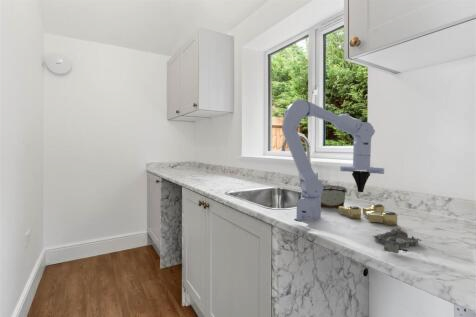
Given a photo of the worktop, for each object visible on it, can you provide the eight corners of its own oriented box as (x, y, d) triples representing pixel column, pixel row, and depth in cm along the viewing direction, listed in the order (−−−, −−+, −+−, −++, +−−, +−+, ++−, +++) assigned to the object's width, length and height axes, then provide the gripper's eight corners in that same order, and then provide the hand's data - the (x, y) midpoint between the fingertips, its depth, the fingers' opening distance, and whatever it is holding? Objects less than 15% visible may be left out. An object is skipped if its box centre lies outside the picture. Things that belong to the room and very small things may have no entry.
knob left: (363, 218, 91) (363, 207, 91) (355, 220, 89) (355, 209, 89) (343, 212, 99) (343, 203, 98) (336, 214, 96) (336, 204, 96)
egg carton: (400, 241, 74) (400, 227, 74) (424, 251, 66) (425, 236, 66) (369, 243, 71) (369, 229, 71) (390, 255, 64) (391, 239, 64)
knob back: (377, 212, 99) (377, 203, 98) (387, 215, 94) (387, 205, 94) (359, 214, 96) (360, 204, 96) (369, 217, 92) (369, 207, 92)
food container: (344, 208, 110) (345, 185, 110) (346, 212, 104) (347, 188, 104) (315, 206, 114) (315, 184, 113) (315, 209, 108) (316, 186, 107)
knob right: (395, 222, 86) (396, 211, 86) (398, 226, 82) (398, 214, 82) (368, 219, 89) (368, 209, 89) (369, 223, 85) (369, 212, 85)
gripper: (386, 155, 91) (385, 192, 92) (344, 154, 100) (344, 188, 101) (382, 156, 86) (380, 195, 86) (338, 154, 95) (337, 190, 96)
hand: (360, 191), depth 93 cm, fingers closed
